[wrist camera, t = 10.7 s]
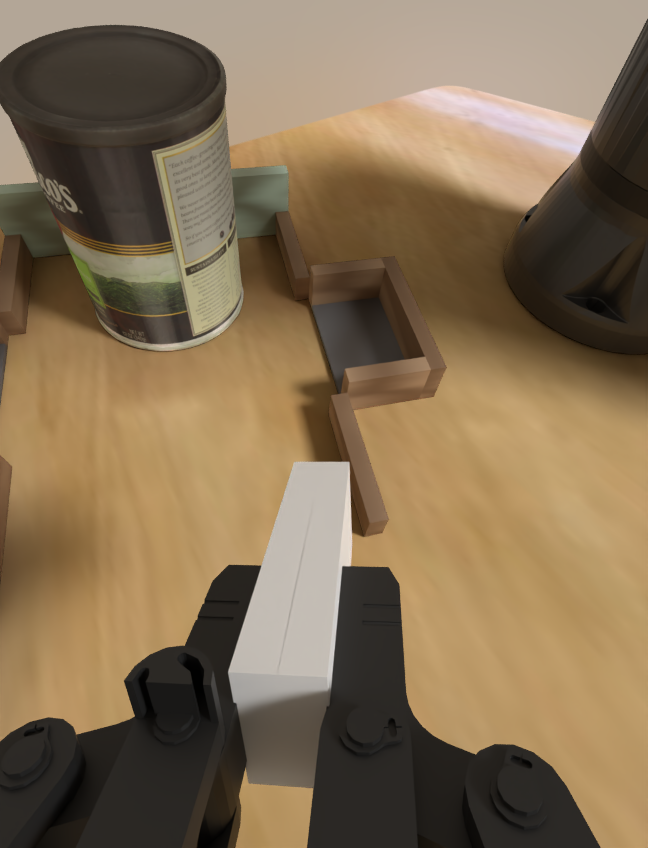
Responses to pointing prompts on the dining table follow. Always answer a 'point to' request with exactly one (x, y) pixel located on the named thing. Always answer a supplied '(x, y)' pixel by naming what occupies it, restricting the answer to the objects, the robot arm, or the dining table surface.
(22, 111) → the coffee can
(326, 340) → the wooden tray
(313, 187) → the dining table surface
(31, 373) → the dining table surface
